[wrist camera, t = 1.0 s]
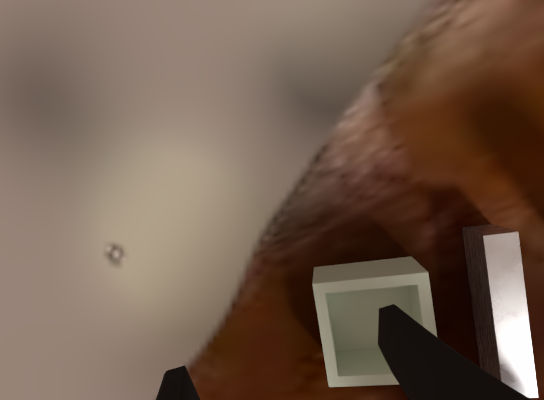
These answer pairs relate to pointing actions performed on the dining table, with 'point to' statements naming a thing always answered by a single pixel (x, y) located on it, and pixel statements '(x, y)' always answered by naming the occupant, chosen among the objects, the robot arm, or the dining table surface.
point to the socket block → (366, 314)
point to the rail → (500, 306)
